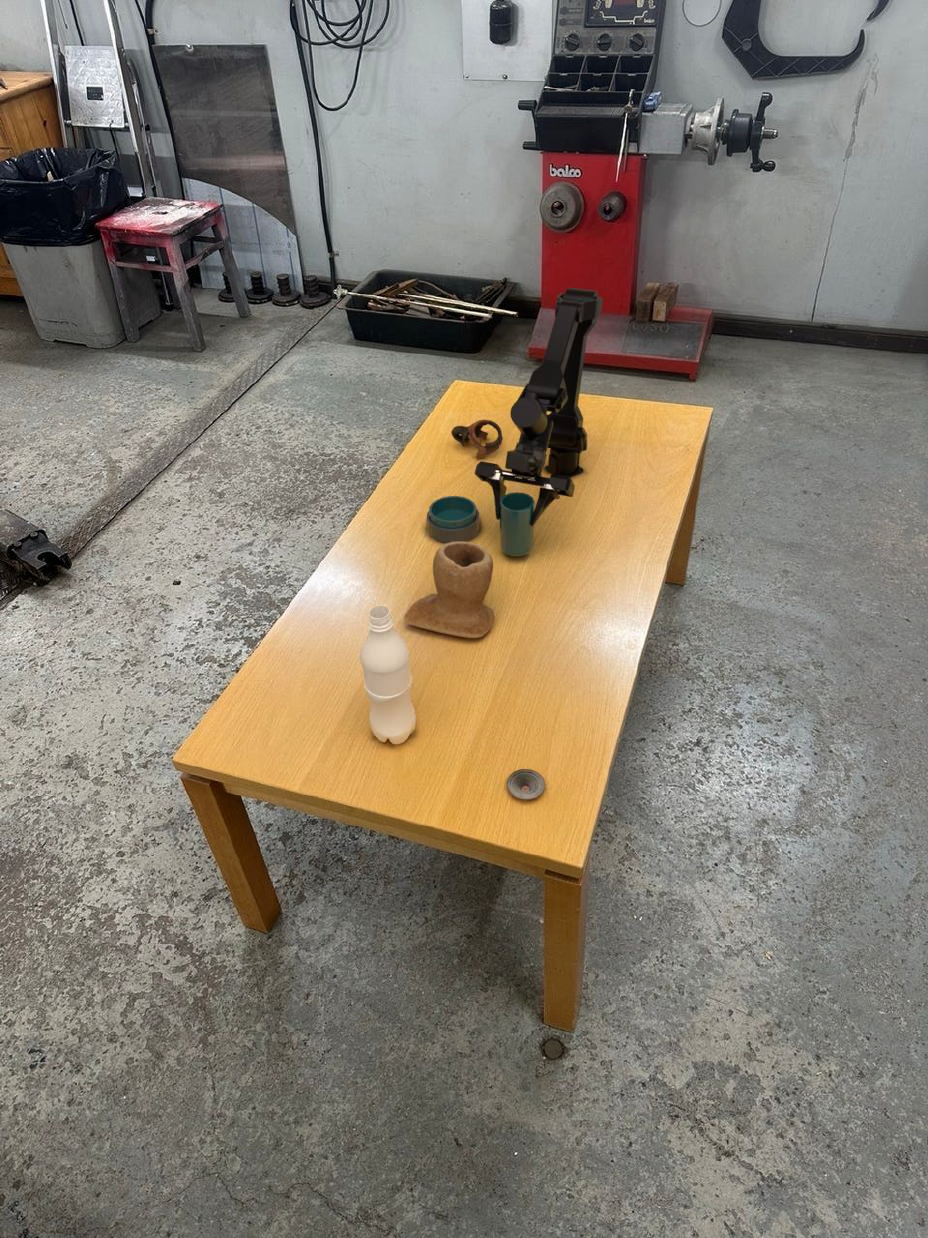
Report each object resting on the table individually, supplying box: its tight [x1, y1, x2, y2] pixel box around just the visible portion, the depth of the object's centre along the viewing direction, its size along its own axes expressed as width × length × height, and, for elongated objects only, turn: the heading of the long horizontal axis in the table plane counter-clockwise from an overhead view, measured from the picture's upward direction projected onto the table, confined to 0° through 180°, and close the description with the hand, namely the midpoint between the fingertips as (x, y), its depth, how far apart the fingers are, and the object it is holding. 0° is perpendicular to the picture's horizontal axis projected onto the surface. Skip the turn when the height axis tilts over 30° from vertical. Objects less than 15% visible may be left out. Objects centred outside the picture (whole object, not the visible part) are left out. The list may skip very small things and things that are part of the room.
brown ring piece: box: [450, 419, 504, 459], centre depth 199 cm, size 12×10×8 cm
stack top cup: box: [428, 495, 477, 529], centre depth 175 cm, size 10×10×5 cm
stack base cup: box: [426, 507, 481, 544], centre depth 175 cm, size 11×11×3 cm
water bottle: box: [359, 604, 417, 745], centre depth 126 cm, size 7×7×25 cm
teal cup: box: [499, 491, 536, 557], centre depth 164 cm, size 6×6×10 cm
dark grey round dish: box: [506, 768, 546, 800], centre depth 125 cm, size 6×6×1 cm
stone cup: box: [403, 541, 496, 639], centre depth 150 cm, size 15×12×15 cm
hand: (514, 522), depth 162 cm, fingers closed on teal cup, 6 cm apart
